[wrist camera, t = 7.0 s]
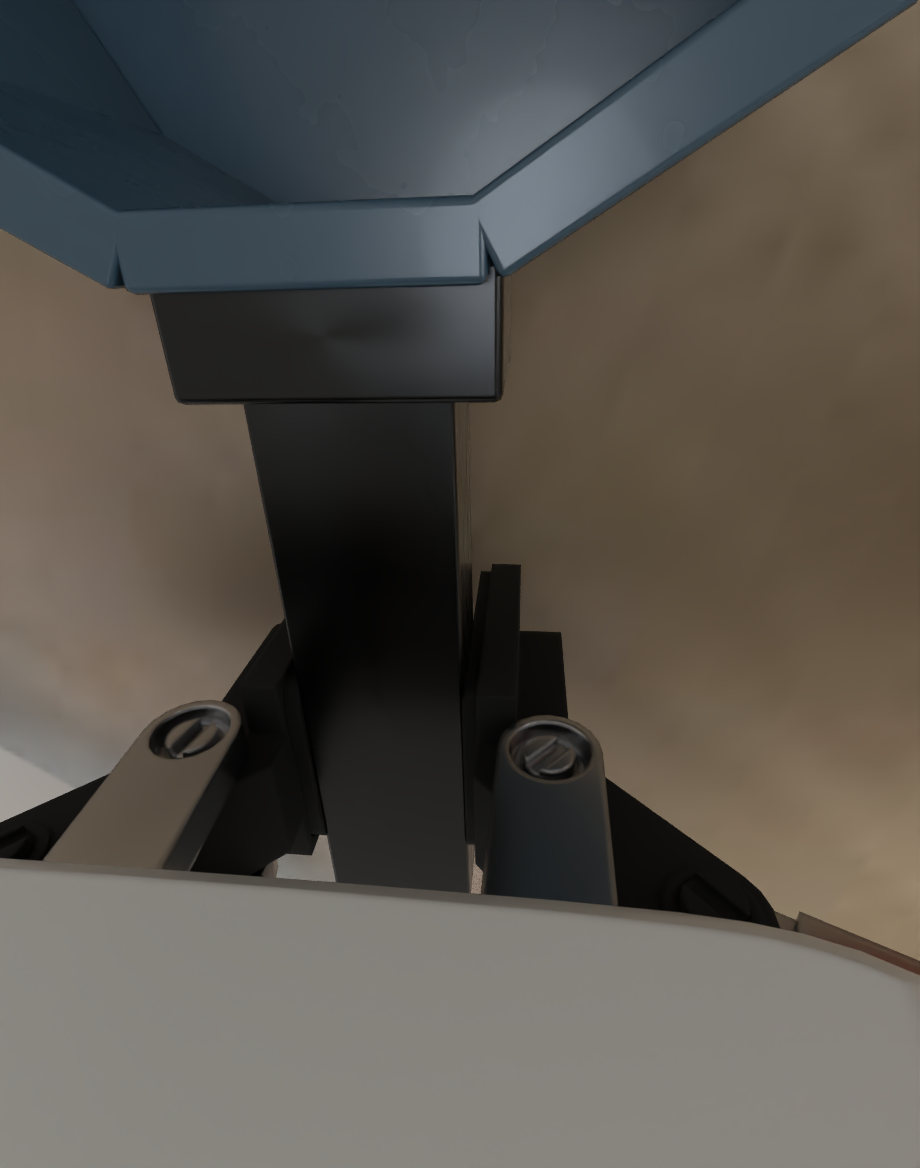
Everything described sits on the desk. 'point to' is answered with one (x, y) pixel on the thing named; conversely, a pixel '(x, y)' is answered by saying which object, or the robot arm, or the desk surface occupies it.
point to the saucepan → (367, 285)
